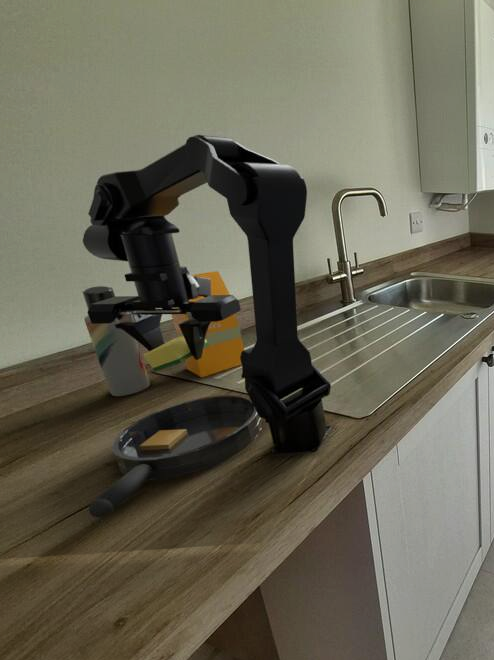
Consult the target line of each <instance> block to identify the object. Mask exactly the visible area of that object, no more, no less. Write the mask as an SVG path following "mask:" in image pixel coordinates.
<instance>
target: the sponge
mask: <svg viewBox="0 0 494 660" xmlns="http://www.w3.org/2000/svg"><path fill="white" fill-rule="evenodd" d="M207 346H209V343H208V342H207V340H206V339H205V343H204V348H205V347H207ZM204 348H203V349H204ZM142 356H143V357H144V359H145V360H146V362H147V363H148V364H149V366H150V367H151V369H152V370H153V371H154V372H158V371H160V370H161V371H162V370H164V369H166V368H169V367H172V366H175V365H178V364H181V363H182V362H185V360H186V359H187V358H189V357H191V356H192V354H191V352H190V350H189V347H188V345H187V343H186V341H185V338H184V336H180V337H177V336H176V337H175V338H173V339H170V340H168V341H166V342H164V344H163V345H161V346H159V347H157V348H155V349H153V350H152V351H148V352H146V353H143V354H142Z"/></svg>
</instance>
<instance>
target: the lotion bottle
mask: <svg viewBox="0 0 494 660" xmlns="http://www.w3.org/2000/svg"><path fill="white" fill-rule="evenodd" d="M82 295H83V298H84V301H85V305H86V308H87V311H88V310H89V307H90V305H91V304H93V303H96V302H100V301H103V300H106V299H109V298H112V297H116V295H115V292H114V288H113V287H112V286H111V287H109V286H104V285H101V286H100V285H99V286H98V285H97V286H92V287H89V288H86V289H85V290H83V291H82ZM84 323H85V326H86V329H87V332H88V335H89V337H90V340H91V343H92V346H93V348H94V351H95V354H96V358H97V361H98V362H99V365H100V368H101V371H102V375H103V376H104V380H105V382H106V385H107V388H108V390H109V393H110V394H111V395H112V396H114V397H124V396H130V395H134V394H137V393H141V392H142V391H144V390H146V389H148V388H149V387H150V385H151V384H150V378H149V375H148V371H147V369H146V366H145V363H144V359H143V357H142V356H143V355H142V354H141V350H140V348H139V344H138V341H137V340H136V339H134V338H133V337H132V336H130V335H129V334H128V333H126V332H125V331H124V330H122V329H120V328H115V326H114V325H115V324H118V320H117V318H116V319H115V321H114V322H112V323H105V324H91V322H90V319H89V316H88V315H86V316H85V317H84Z"/></svg>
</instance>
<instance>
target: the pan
mask: <svg viewBox="0 0 494 660" xmlns="http://www.w3.org/2000/svg"><path fill="white" fill-rule="evenodd" d="M262 420H263V419H262V418H260V417H259V415H258V413H257V411H256V409H255V407H254V405H253V403H252V401H251V399H250V397H249V396H246V395H239V394H217V395H216V394H215V395H210V396H203V397H198V398H194V399H190V400H185V401H183V402H179V403H176V404H173V405H170V406H166V407H164V408H162V409H159V410H157V411H154V412H152V413H149V414H148V415H146V416H144V417H142V418H140V419H139V420H136V421H135V422H133V423H132V424H130V425H129V426H128V427H126V428H124V429H123V430H122V431H121V432H120V433H119V434H118V435H117V436H116V437H115V439H114V440H113V442H112V445H111V449H112V452H113V455H114V458H115V461H116V463H117V466H118V468H119V471H120V473H122V474H123V476H124V475H126V474H127V473H128V472H129V471H131V470H132V469H133V468H134V467H136V466H138V465H141V464H147V465H149V466H151V467H152V469H153V474H152V476H151V477H150V478H149V479H148V480H150V481H152V480H164V479H169V478H175V477H180V476H184V475H187V474H191V473H194V472H198V471H200V470H203V469H206V468H209V467H211V466H213V465H215V464H218V463H221V462H222V461H225V460H227V459H228V458H230V457H232V456H234V455H236V454H237V453H239V452H240V451H242V450H243V449H245V448H246V447H247V446H249V445H250V444H251V443H252V442H253V441H254V440H255V439H256V438H257V437H258V435H259V434H260V432H261V430H262V428H263V421H262ZM180 429H187V432H188V434H187V435H185V436H184V437H183V438H182V439H181V440H179V441H178V442H177V443H176V444H175V445H174V446H172V447H171V448H170V449H161V450H140V447H139V446H140V445H141V444H142V443H144V442H145V441H146V440H148V439H149V438H150V437H152V436H153V435H154V434H155V433H157V432H158V431H159V430H180ZM148 480H147V481H148Z"/></svg>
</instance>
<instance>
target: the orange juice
mask: <svg viewBox="0 0 494 660" xmlns="http://www.w3.org/2000/svg"><path fill="white" fill-rule="evenodd" d="M190 276H195V277H202V278H207V279H211V295H231V294H230V292H229V290H228V288H227V286H226V284H225V282H224V280H223V279H222V276H221V275H220V273H219V271H218V270H216V271H209V272H202V273H197V274H196V273H195V274H190ZM203 298H205V297H203V296H201V297H198V298H196V299H190V300H189V302H196V301H198V300H201V299H203ZM177 308H178V307H177ZM177 308H173V307H172V309H177ZM170 316H171V318H172V323H173V325H174V329H175V333H176V338H177V337H180V336H183V334H182V332H181V329H180V327H179V324H181V323H183V322H185V321H187V320H188V318H187V314H170ZM205 339H206V340H207V342H208V343H209V346H207V347H205V348H204V349H203V353H202V357H201V358H200V359H199V360H195V359H194V357H193V356H191V357H189V358H187V359H186V360H184V363H185V364H184V365H185V368H186V369H187V370H188V371H190V372H192V373H193V374H195V375H196V376H199V377H200V378H205V377H207V376H210V375H214V374H217V373H219V372H223V371H225V370H229V369H233V368H235V367H239V366H242V364H241V360H240V356H241V352H242V351H244V350H245V348H244V342H243V339H242V333H241V329H240V325H239V322H238V317H237V313H235V314H233V315H231V316H230V317H228V318H226V319H224V320H221V321H217V322H211V323H210V325H209V327H208V330H207V333H206V337H205Z"/></svg>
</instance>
